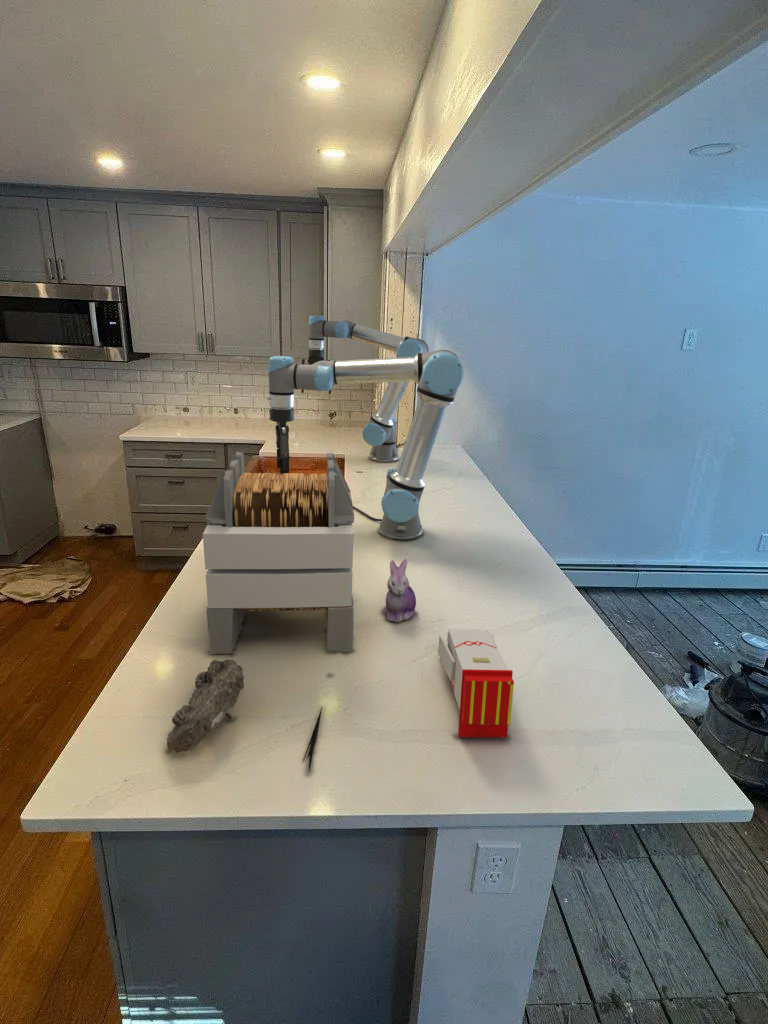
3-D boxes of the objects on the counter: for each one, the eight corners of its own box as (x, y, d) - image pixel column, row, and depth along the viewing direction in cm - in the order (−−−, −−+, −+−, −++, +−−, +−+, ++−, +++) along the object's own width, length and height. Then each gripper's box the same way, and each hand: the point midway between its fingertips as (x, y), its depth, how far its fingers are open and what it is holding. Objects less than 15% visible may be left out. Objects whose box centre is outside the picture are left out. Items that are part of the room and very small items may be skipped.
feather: (331, 679, 122) (336, 673, 122) (307, 777, 96) (313, 769, 95) (324, 675, 122) (329, 669, 121) (298, 772, 95) (304, 764, 95)
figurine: (392, 627, 141) (395, 572, 136) (374, 608, 149) (376, 556, 144) (425, 619, 145) (429, 566, 140) (405, 601, 154) (408, 550, 149)
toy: (488, 613, 130) (523, 677, 101) (484, 667, 133) (517, 744, 104) (435, 612, 130) (455, 676, 101) (432, 666, 133) (451, 743, 103)
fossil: (192, 660, 117) (244, 628, 112) (224, 691, 120) (276, 661, 115) (142, 746, 98) (202, 712, 93) (182, 779, 101) (242, 748, 96)
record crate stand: (229, 585, 158) (221, 442, 144) (346, 584, 161) (350, 444, 148) (206, 656, 126) (193, 481, 112) (353, 652, 130) (358, 483, 116)
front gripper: (267, 401, 187) (268, 463, 194) (272, 415, 164) (273, 485, 171) (290, 401, 189) (290, 463, 196) (298, 415, 166) (298, 484, 173)
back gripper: (289, 348, 273) (290, 393, 280) (341, 350, 273) (340, 395, 280) (292, 347, 280) (292, 390, 287) (342, 349, 280) (341, 393, 287)
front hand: (282, 473), depth 184 cm, fingers open, 13 cm apart
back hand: (316, 393), depth 284 cm, fingers open, 13 cm apart
